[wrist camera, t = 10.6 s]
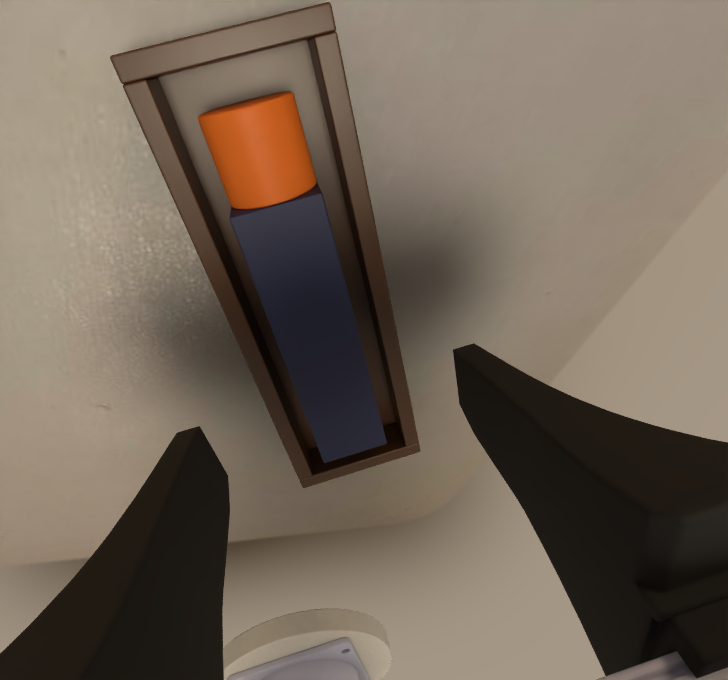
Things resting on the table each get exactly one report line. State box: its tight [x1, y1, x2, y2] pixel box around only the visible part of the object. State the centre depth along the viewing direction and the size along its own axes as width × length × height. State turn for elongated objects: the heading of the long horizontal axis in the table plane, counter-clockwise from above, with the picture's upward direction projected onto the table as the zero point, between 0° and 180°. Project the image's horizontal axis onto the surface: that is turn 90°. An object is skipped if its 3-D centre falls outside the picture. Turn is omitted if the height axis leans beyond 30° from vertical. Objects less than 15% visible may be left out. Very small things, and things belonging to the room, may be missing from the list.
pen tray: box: [110, 2, 420, 488], centre depth 16 cm, size 16×5×2 cm, turn 12°
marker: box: [198, 91, 387, 463], centre depth 15 cm, size 12×3×3 cm, turn 12°
